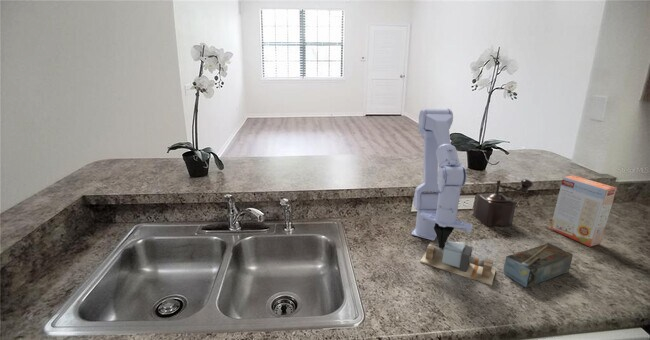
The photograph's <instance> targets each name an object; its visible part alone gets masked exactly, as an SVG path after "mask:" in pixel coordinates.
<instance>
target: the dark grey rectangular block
mask: <svg viewBox="0 0 650 340" xmlns="http://www.w3.org/2000/svg"><path fill="white" fill-rule="evenodd" d="M464 245H465V244H464ZM472 251H473V247H472V246H468V245H465V247H464V250H463V252H462V255H461V261H460V267H459V270H461V271H465V272H467V269H468V266H469V264H470V263H468V262H469V257H470V256H471V257H472V253H473V252H472Z"/></svg>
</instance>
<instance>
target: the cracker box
mask: <svg viewBox="0 0 650 340" xmlns="http://www.w3.org/2000/svg"><path fill="white" fill-rule="evenodd" d="M616 193H617V187H614V186H611V185H609V184H605V183H601V182H598V181H595V180H591V179H588V178H585V177H580V176H578V175H568V176H563V177H562V181H561V185H560V187H559V192H558V196H557V200H556V205H555V208H554V212H553V216H552V220H551V225H550V230H551V231H554V232H556V233H559V234H560V235H563V236H564V237H567V238H570V239H572V240H574V241H576V242H579V243H580V244H583V245H585V246H587V247H594V246H597V245H601V242H602V239H603V235H604V232H605V229H606V225H607V224H608V223H607V222H608V218H609V216H610V213H611V212H610V211H611V209H612V206H613V202H614V199H615V195H616Z"/></svg>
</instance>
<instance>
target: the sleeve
mask: <svg viewBox="0 0 650 340" xmlns="http://www.w3.org/2000/svg"><path fill="white" fill-rule="evenodd" d="M464 247H465V244H461V243H458V242H455V241H450V240H447V241H446V243H445V247H444V252H443V260H442V263H445V264H449V265H452V266H455V267H458V268H459V267H460V261H461V255H462V252H463V250H464Z"/></svg>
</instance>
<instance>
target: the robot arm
mask: <svg viewBox="0 0 650 340" xmlns="http://www.w3.org/2000/svg"><path fill="white" fill-rule="evenodd" d="M453 120H454V113H453V111H452V109H451V108H425V107H424V108H422V109H421V110H420V111H419V115H418V134H420V135H422V136H423V171H422V173H423V177H422V178H423V180H422V183H421V184H419V185H418V186H416V187H415V189H414V195H413V207H414V209H415V210H416V223H415V228H414V229H413V230H412V231H411V233H410V235H411V236H416V237H419V238H423V239H427V240H429V241H432V242H434V241H435V240H436V238H437V241H438V247H439V248H442V249H443V248H445V244H446V242H447V241H448V238H449V237H450V235H451V234H452V232H453V231H454V229H457V230H460V231H464V232H466V233H467V234H470V233H472V230H473V224H471V223H469V222H465V221H462V220H460V219H458V218H457V216H458V215H457V214H458V209H459V203H460V197H461V196H460V195H461V190H462V187H463V186H465V184H466V182H467V170H466V167H465V166H464V165H463V164H462V163H461V162H460V160H459V157H458V152H457V147H456V146H454V145H452V141H451V136H450V135H451V134H450V129H451V127H452V125H453Z"/></svg>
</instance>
